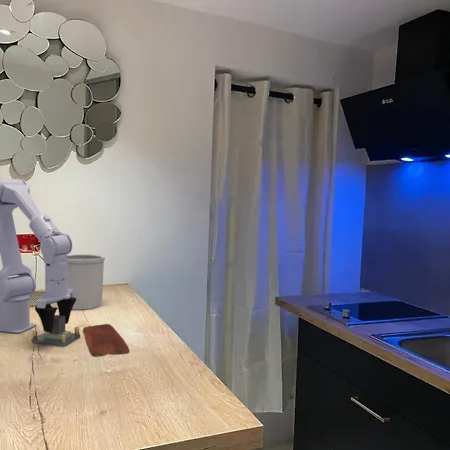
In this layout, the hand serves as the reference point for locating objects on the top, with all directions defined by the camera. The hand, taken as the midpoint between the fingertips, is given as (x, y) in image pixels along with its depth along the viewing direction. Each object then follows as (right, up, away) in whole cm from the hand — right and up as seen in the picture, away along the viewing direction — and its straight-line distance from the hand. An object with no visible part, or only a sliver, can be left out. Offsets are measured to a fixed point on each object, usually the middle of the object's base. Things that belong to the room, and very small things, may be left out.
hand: (56, 327), depth 130 cm
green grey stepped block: (0, -3, 0) cm, 3 cm away
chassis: (0, -4, 0) cm, 4 cm away
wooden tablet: (+12, -5, +3) cm, 14 cm away
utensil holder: (-4, 0, +37) cm, 37 cm away
